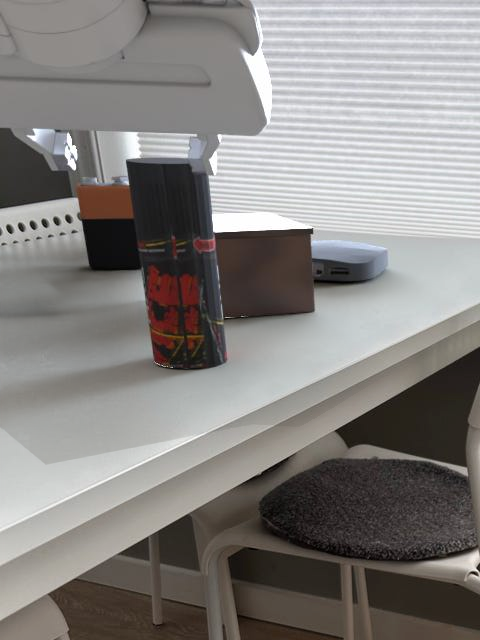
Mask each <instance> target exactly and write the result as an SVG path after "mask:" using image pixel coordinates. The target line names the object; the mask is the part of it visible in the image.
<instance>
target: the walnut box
mask: <svg viewBox="0 0 480 640" xmlns="http://www.w3.org/2000/svg"><path fill="white" fill-rule="evenodd" d="M212 215H213V225H214V235H215V244H216V254H217V264H218V274H219V283H220V293H221V303H222V313H223V318H225V317H241V316H255V317H264V316H263V315H267V316H276V315H277V316H278V315H290V314H300V313H311V312H316V306H315V305H316V303H315V288H314V287H315V285H314V280H313V266H312V248H311V241H312V235H314V227H312V226H309V225H306V224H303V223H300V222H298V221H294V220H291V219H288V218H285V217H282V216H279V215H277V214H274V213H270V212H255V213H254V212H253V213H224V214H223V213H222V214H212ZM261 315H262V316H261Z"/></svg>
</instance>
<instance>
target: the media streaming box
mask: <svg viewBox="0 0 480 640" xmlns="http://www.w3.org/2000/svg"><path fill="white" fill-rule="evenodd" d="M311 248H312V266H313V281H324V282H325V281H326V282H361V281H364V280H365V281H366V280H370V279H374V278H376V277H378V276H379V275H380V274H381V273H383V272H384V271H385V270H386V269H387V268H388V266H389V258H388V257H389V255H388V253H389V252H388V248H386V247H382V246H377V245H376V246H375V245H372V244H370V243H363V242H357V241H349V240H340V239H339V240H338V239H336V240H335V239H320V240H319V239H318V240H311Z"/></svg>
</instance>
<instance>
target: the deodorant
mask: <svg viewBox="0 0 480 640" xmlns="http://www.w3.org/2000/svg"><path fill="white" fill-rule="evenodd" d="M125 165H126V172H127V176H128V180H127V181H128V183H129V187H130V194H131V201H132V208H133V215H134V222H135V230H136V237H137V244H138V251H139V258H140V265H141V269H140V271H141V272H140V273H141V278H142V284H143V286H142V287H143V293H144V299H145V306H146V307H145V308H146V313H147V320H148V328H149V335H150V343H151V349H152V354H153V355H152V357H153V362H154V361H155V362H156V363H158V364H160V365H163V366H166V367H167V366H168V367H173V368H201V369H208V368H207V367H209V368H213V366H214V367H218V366H220V365H223V364H225V363H227V361H228V352H227V344H226V333H225V324H224V319H223V313H222V303H221V293H220V283H219V274H218V264H217V254H216V244H215V235H214V225H213V215H214V214H213V206H212V196H211V188H210V177H209V176H210V175H194V174H193V173H192V167H191V166H190V164H189V161H188V157H186V158H185V157H136V158H135V157H133V158H126V159H125Z"/></svg>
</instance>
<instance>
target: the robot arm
mask: <svg viewBox="0 0 480 640" xmlns="http://www.w3.org/2000/svg"><path fill="white" fill-rule="evenodd" d="M262 44H263V32H262V28H261V23H260V19H259V15H258V12H257V9H256V7H255V4H254V3H253V2H252V1H251V0H0V129H10V130H11V132H12V134H13V136H14V137H16V138H17V139H19V140H20V141H21V142H22V143H24V144H26V145H27V146H28V147H30V148H31V149H33V150H34V151H36V152H38V153H39V155H43V158H44V159H45V161H46V163H47V164H48V166H49V168H50V170H51V171H52V172H53V171H56V172H60V171H62V172H63V171H64V172H75V171H76V169H77V165H76V162H77V160H78V153H77V149H76V146H75V144H73V143H72V138H71V136H70V134H69V132H65V131H85V132H87V131H90V132H91V131H92V132H118V133H147V134H148V133H149V134H177V135H181V134H183V135H196V136H189V139H188V140H189V141H188V146H189V149H188V151H187V152H188V153H187V158H188V161H189V164H190V166H191V167H192V173H193V174H194V175H208V176H212V177H213V176H214V177H215V176H216V174H217V164H218V158H217V157H218V156H217V150H218V147H219V146H220V144H221V140H222V136H239V137H240V136H243V137H256V136H260V135H261V133H262V132H263V131H264V130H265V129H266V127H267V126H268V125H269V123H270V119H271V111H272V84H271V78H270V74H269V70H268V66H267V64H266V61H265V58H264V55H263V51H262V49H261V46H262ZM56 130H57V131H56ZM59 130H61V131H62V132H61V131H59Z"/></svg>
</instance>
